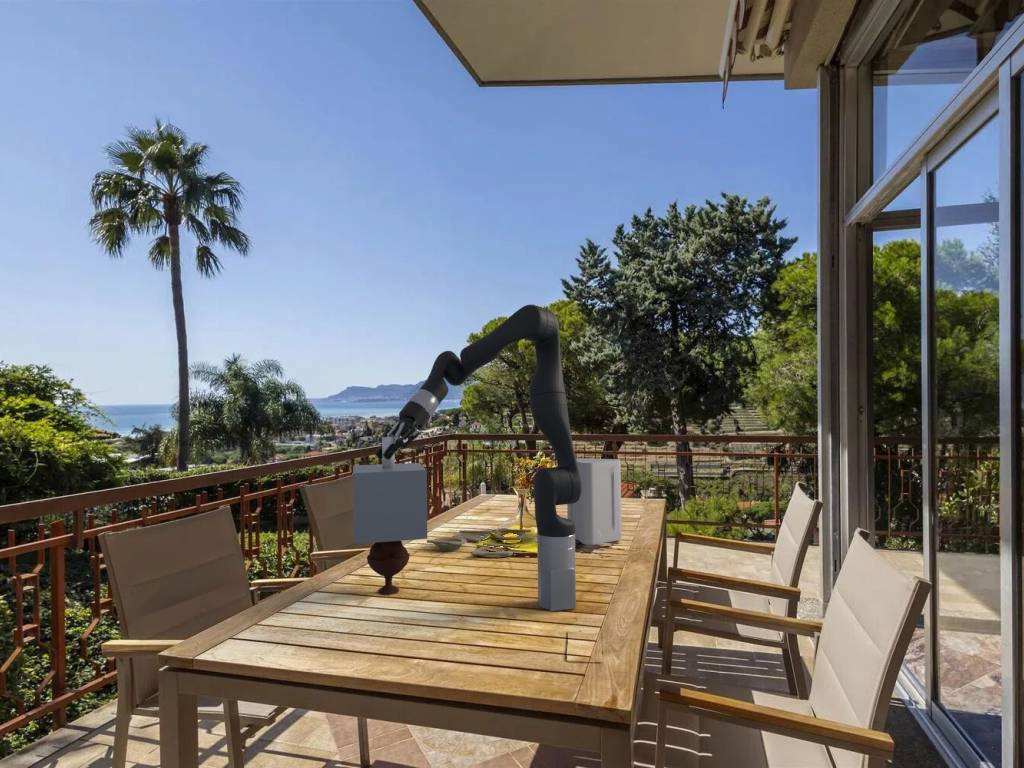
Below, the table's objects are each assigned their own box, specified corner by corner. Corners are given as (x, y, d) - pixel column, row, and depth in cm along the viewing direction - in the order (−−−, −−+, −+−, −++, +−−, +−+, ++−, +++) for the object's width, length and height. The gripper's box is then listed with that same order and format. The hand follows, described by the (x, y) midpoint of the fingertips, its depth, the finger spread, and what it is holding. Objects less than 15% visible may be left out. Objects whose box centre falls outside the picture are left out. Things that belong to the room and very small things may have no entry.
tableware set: (505, 562, 187) (505, 549, 188) (420, 555, 197) (420, 543, 197) (537, 537, 221) (537, 526, 221) (463, 533, 230) (463, 522, 230)
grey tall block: (561, 543, 210) (560, 462, 211) (569, 534, 224) (568, 458, 225) (616, 546, 205) (615, 463, 206) (621, 536, 219) (620, 459, 220)
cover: (427, 538, 153) (426, 438, 153) (353, 544, 148) (352, 440, 149) (419, 524, 170) (419, 434, 171) (353, 528, 166) (353, 436, 166)
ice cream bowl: (413, 585, 164) (413, 529, 164) (402, 599, 152) (402, 539, 153) (375, 584, 165) (375, 529, 165) (361, 598, 154) (361, 538, 154)
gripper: (396, 400, 170) (358, 446, 161) (426, 399, 160) (387, 449, 151) (412, 418, 174) (375, 464, 165) (442, 419, 164) (405, 468, 155)
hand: (381, 456), depth 158 cm, fingers closed on cover, 3 cm apart
